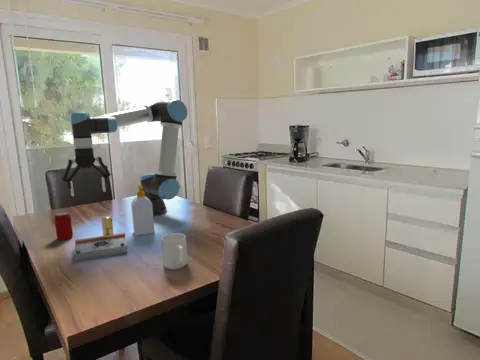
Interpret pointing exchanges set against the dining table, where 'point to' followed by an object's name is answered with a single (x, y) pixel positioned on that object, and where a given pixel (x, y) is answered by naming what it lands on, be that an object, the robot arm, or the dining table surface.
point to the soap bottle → (142, 214)
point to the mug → (174, 250)
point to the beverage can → (63, 225)
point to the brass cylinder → (107, 225)
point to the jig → (100, 246)
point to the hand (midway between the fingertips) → (88, 193)
